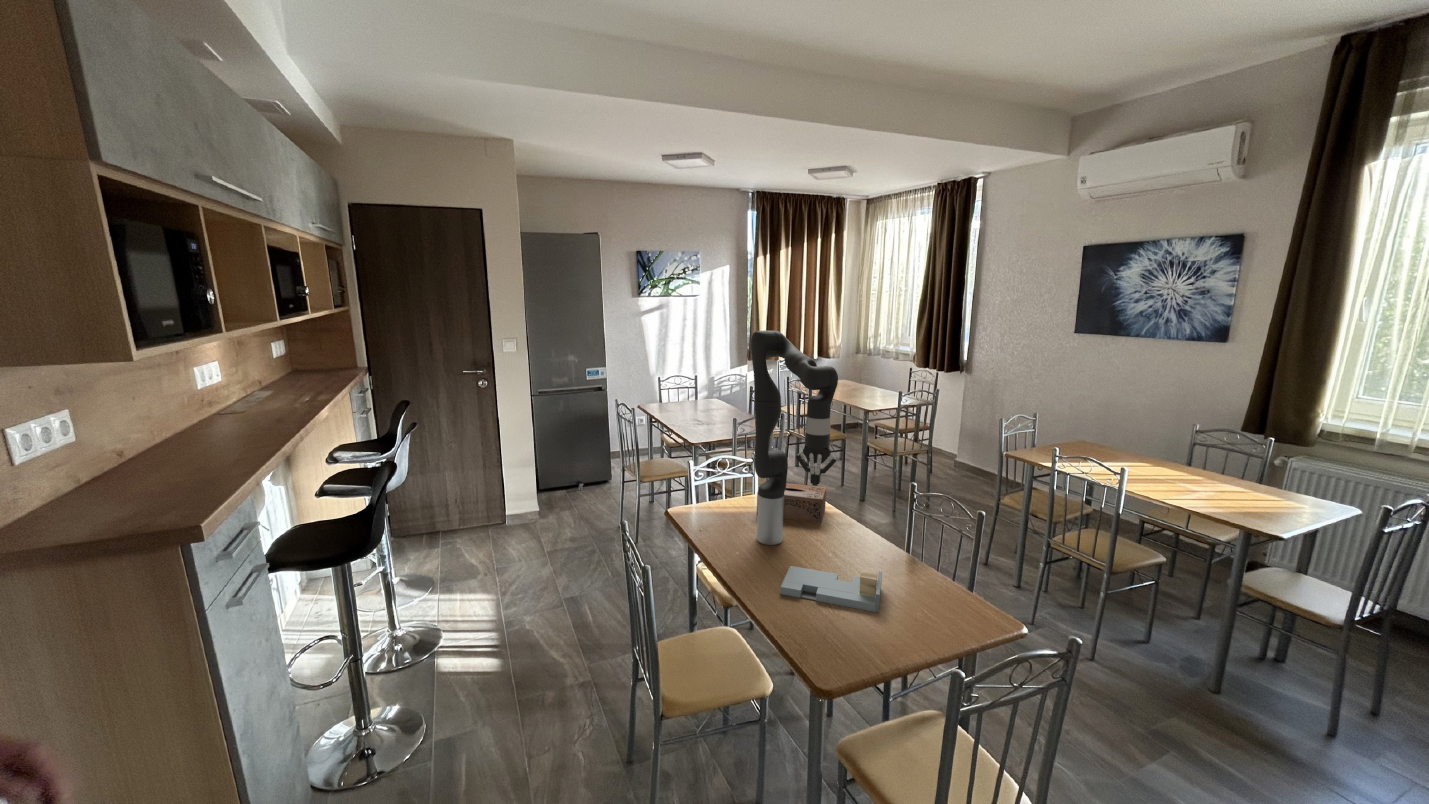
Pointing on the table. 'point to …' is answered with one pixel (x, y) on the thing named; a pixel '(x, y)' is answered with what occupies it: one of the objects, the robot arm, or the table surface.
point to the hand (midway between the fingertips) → (815, 485)
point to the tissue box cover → (803, 502)
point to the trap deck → (829, 589)
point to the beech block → (868, 582)
